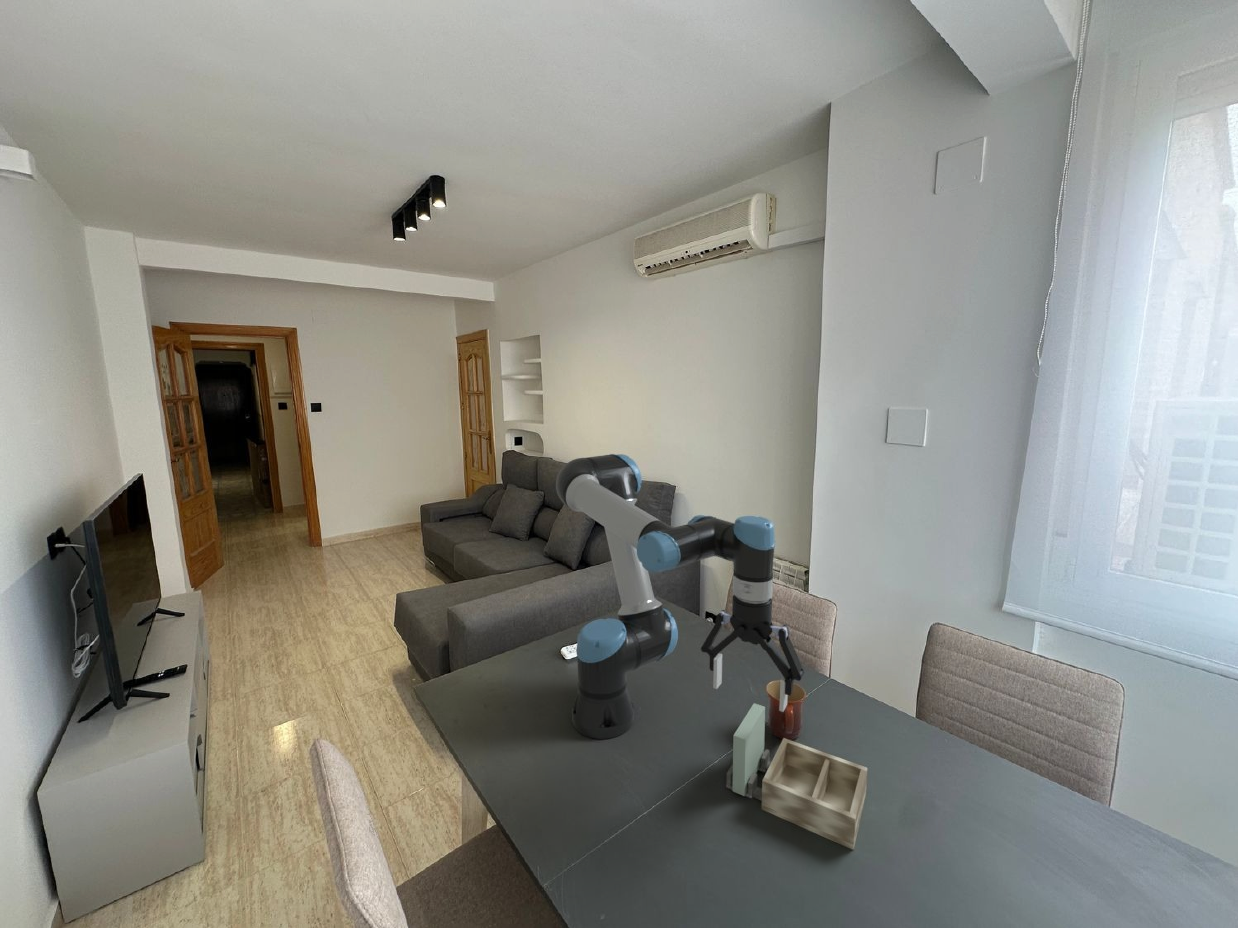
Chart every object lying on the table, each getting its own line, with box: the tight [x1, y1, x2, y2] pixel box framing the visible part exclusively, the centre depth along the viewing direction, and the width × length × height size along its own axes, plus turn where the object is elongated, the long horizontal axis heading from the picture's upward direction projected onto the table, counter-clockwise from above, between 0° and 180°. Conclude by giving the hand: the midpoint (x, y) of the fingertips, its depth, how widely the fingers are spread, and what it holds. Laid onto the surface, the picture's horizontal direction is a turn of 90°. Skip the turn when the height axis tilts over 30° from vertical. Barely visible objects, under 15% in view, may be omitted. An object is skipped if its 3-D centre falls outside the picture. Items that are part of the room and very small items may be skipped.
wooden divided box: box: [726, 738, 868, 851], centre depth 99 cm, size 24×14×6 cm, turn 56°
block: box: [732, 703, 766, 797], centre depth 103 cm, size 3×12×12 cm, turn 147°
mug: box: [765, 679, 807, 741], centre depth 115 cm, size 12×9×10 cm
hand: (749, 696), depth 102 cm, fingers open, 13 cm apart
